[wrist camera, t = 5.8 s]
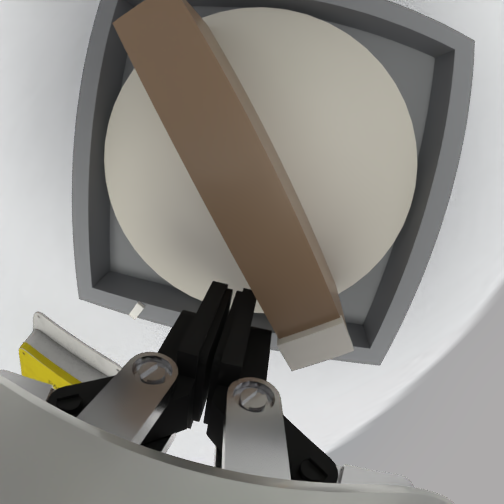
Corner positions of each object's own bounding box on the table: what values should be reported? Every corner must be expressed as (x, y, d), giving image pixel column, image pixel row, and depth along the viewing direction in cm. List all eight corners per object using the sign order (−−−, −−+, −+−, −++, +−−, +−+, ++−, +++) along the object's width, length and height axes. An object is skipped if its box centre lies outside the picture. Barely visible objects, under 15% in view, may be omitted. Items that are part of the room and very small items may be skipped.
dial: (82, 113, 12) (-3, 119, 7) (323, -18, 9) (340, -90, 4) (201, 328, 16) (169, 407, 11) (436, 236, 13) (499, 295, 7)
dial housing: (134, 1, 11) (104, -19, 8) (444, 52, 10) (476, 39, 7) (105, 274, 17) (77, 301, 14) (368, 331, 16) (380, 368, 13)
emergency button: (21, 417, 21) (5, 333, 16) (40, 392, 26) (37, 303, 20) (92, 464, 22) (107, 406, 17) (107, 436, 26) (130, 365, 21)
